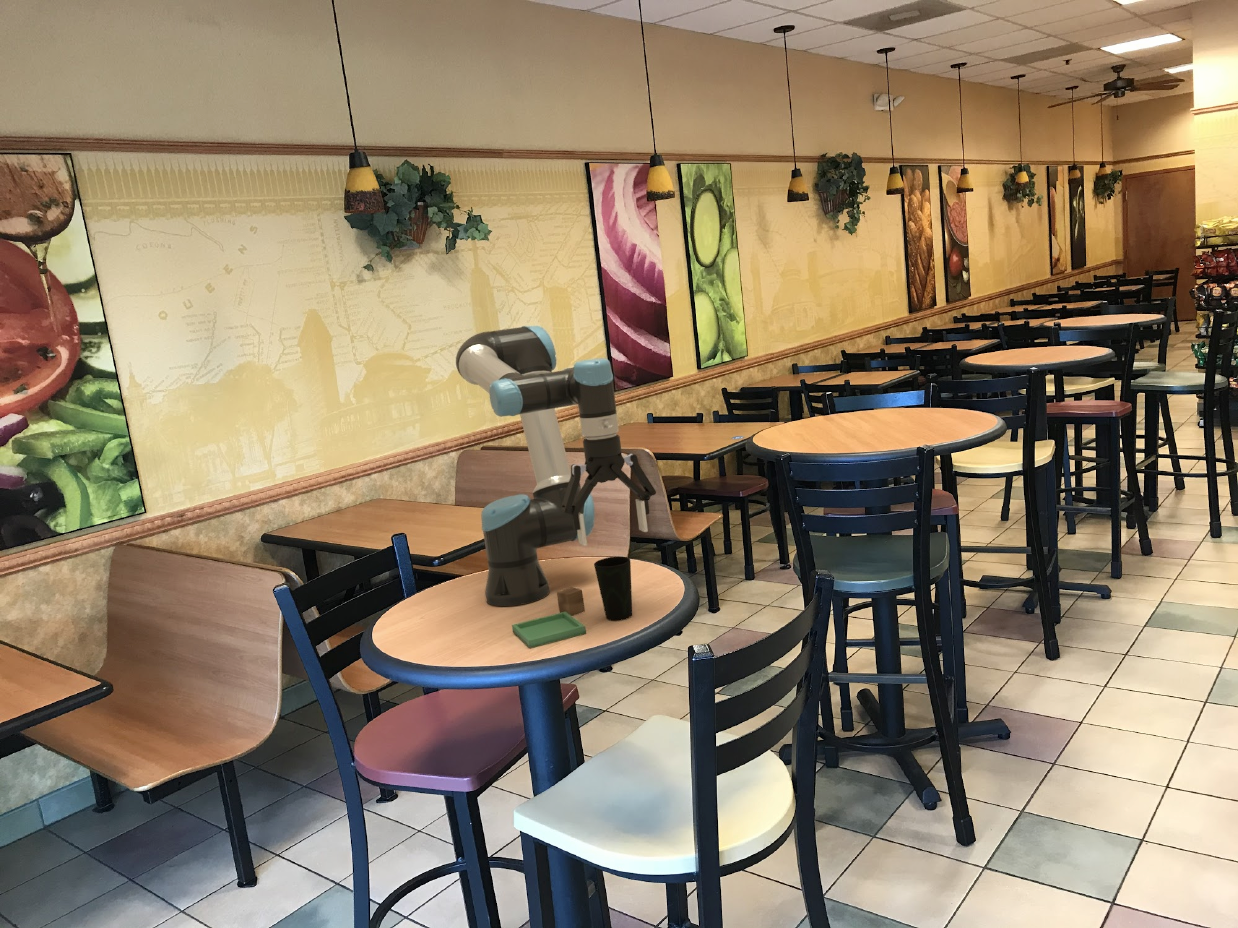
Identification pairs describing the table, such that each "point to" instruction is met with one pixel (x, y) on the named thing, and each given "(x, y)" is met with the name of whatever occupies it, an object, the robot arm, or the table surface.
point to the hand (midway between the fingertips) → (613, 537)
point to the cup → (615, 587)
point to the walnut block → (571, 601)
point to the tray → (548, 629)
